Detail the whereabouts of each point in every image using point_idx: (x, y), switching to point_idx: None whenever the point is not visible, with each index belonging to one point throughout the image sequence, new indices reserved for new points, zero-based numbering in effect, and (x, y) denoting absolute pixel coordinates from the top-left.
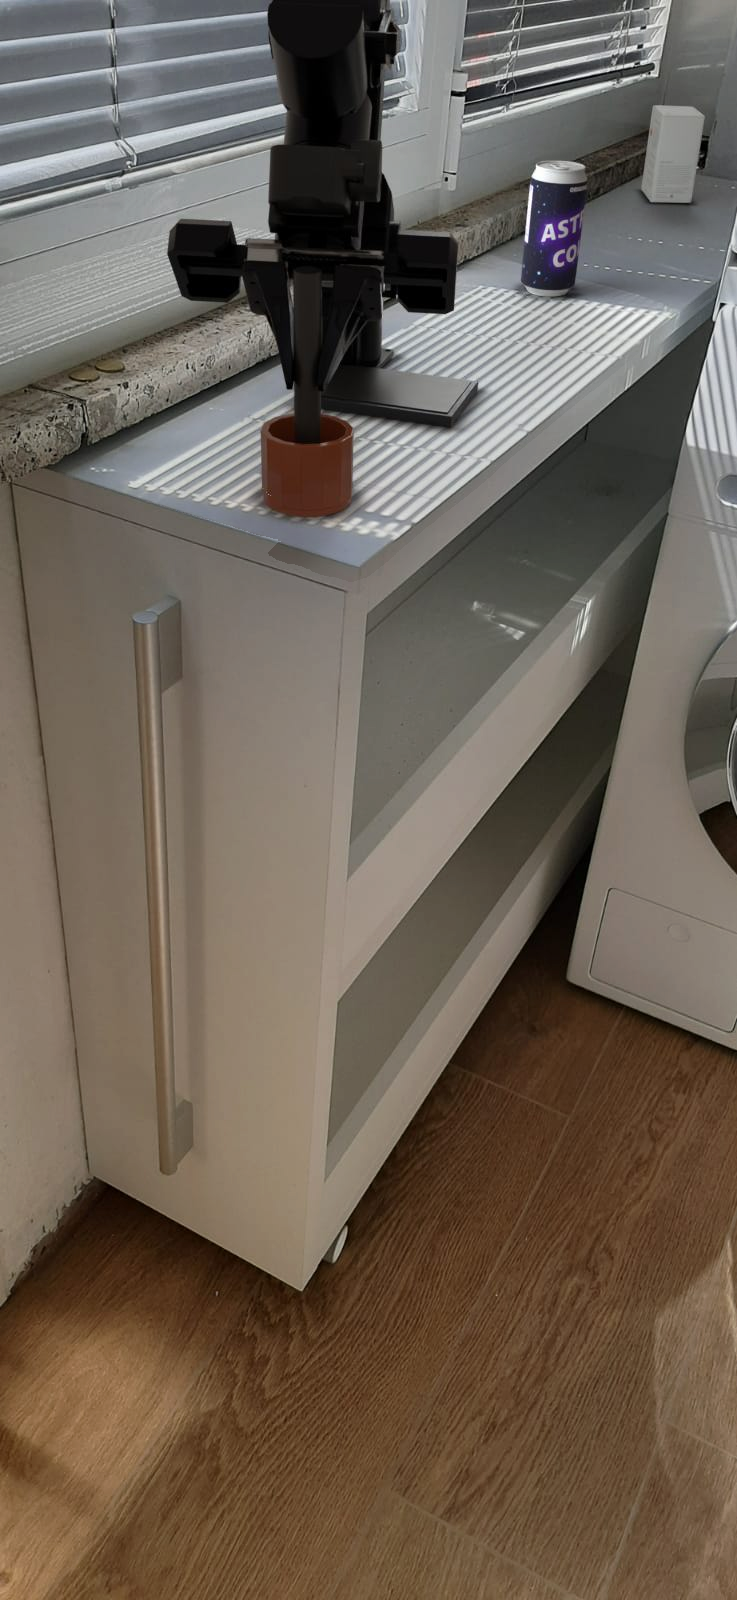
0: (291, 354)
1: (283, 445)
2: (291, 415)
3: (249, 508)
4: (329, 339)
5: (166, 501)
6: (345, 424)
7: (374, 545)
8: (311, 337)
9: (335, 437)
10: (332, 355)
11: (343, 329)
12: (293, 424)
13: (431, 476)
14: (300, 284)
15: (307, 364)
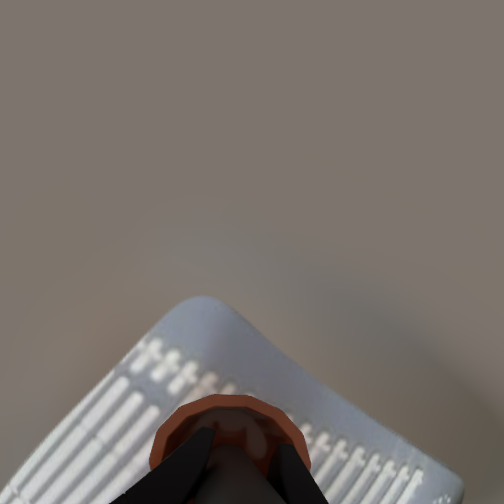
0: (285, 485)
1: (277, 408)
2: None
3: (302, 431)
4: (166, 492)
5: (390, 443)
6: None
7: (169, 321)
8: (230, 480)
9: None
10: (167, 458)
11: (112, 501)
12: None
13: (67, 477)
14: None
15: (239, 466)
